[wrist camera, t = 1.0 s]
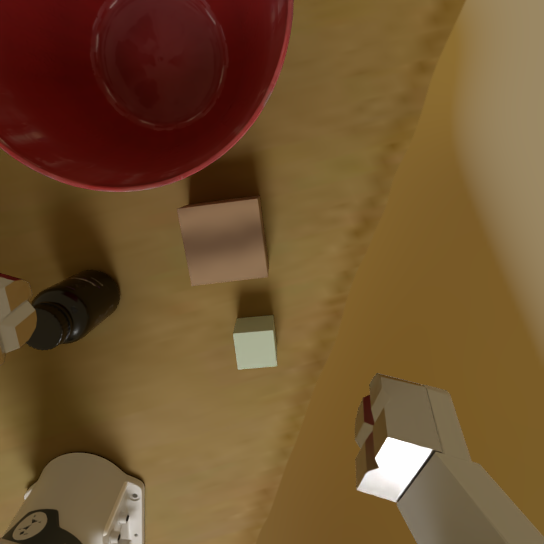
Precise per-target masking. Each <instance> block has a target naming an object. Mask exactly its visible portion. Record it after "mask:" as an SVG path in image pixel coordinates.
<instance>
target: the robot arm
mask: <svg viewBox="0 0 544 544" xmlns="http://www.w3.org/2000/svg"><path fill="white" fill-rule="evenodd" d="M31 296H32V291H31V288H30V284H29V283H28V282H26V281H24V280H22V279H19V278H15V277H12V276H8V275H5V274H1V273H0V365H1V364H3V363H4V361H5V355H6V353H8V352H10V351H13V350H16V349H18V348H20V347H21V346H23V345H24V344H25V343H26V342H27V341H28V340H29V339H30V337H31V335H32V334H33V332H34V330H35V328H36V322H37V315H36V310H35V309H34V308H33V306H32V305H31V304H30V303H29V302H28V300H29V299H30V298H31ZM369 386H370V395H368V396H366V397H364V398H363V399H362V401H361V404H360V406H359V408H358V413H357V417H356V422H355V441H356V442H357V444H358V445H359V447H360V448H361V450H360V452H359V454H358V455H357V457H356V484H357V485H356V487H357V490H359V491H362V492H365V493H368V494H371V495H375V496H378V497H381V498H384V499H388V500H391V501H394V502H397V506H398V508H399V510H400V512H401V514H402V516H403V518H404V519H405V521H406V523H407V525H408V527H409V529H410V531H411V533H412V535H413V536H414V539H415V540H416V542H417V544H544V537H543V535H542V534H541V533H540V532H539V531H538V530H537V529H536V528H535V526H534V525H533V524H532V523H531V522H530V521H529V520H528V519H527V517H526V516H525V515H524V514H523V513H522V512H521V511H520V510H519V508H518V507H517V506H516V505H515V504H514V503H513V501H512V500H511V499H510V498H509V497H508V496H507V495H506V493H505V492H504V491H503V490H502V489H501V488H500V487H499V486H498V485H497V483H496V482H495V481H494V480H493V479H492V478H491V476H490V475H489V474H488V473H487V472H486V471H485V470H484V469H483V468H482V466H481V465H480V464H478V463H475V462H472V461H471V458H470V455H469V452H468V449H467V445H466V442H465V439H464V436H463V433H462V430H461V427H460V424H459V421H458V418H457V415H456V412H455V408H454V405H453V403H452V399H451V396H450V394H449V393H448V392H447V391H446V390H443V389H439V388H435V387H431V386H427V385H421V384H418V383H414V382H410V381H406V380H402V379H398V378H394V377H390V376H386V375H382V374H378V373H377V374H376V375H375V376H374V377H373V379H372V381H371V383H370V385H369ZM24 499H25V501H24V503H23V504H22V506H21V508H20V509H19V511H18V512H17V514H16V516H15V517H14V519H13V520H12V522H11V524H10V525H9V527H8V528H7V530H6V532H5V533H4V535H3V537H2V538H0V544H144V518H145V487H144V484H143V482H142V481H140V480H139V479H136V478H134V477H132V476H129V475H127V474H125V473H124V472H123V471H121V470H120V469H119V468H118V467H117V466H116V465H114V464H113V463H111V462H110V461H108V460H106V459H104V458H102V457H99V456H97V455H93V454H88V453H69V454H65V455H62V456H59V457H57V458H55V459H53V460H52V461H51V462H49V463H48V464H47V465H46V467H45V468H44V469H43V471H42V473H41V475H40V477H39V479H38V481H37V482H36V483H35V484H33V485H32V486H31V487H30V488H29V489H28V490H27V492H26V493H25V495H24Z"/></svg>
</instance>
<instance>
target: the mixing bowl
mask: <svg viewBox="0 0 544 544" xmlns="http://www.w3.org/2000/svg"><path fill="white" fill-rule="evenodd" d="M293 1H294V0H0V148H1V149H2V150H4V151H5V152H6V153H8V154H9V155H10V156H12V157H13V158H15V159H16V160H18V161H19V162H21V163H22V164H24V165H26V166H27V167H29V168H31V169H33V170H35V171H36V172H38V173H41V174H43V175H45V176H47V177H49V178H52V179H54V180H57V181H60V182H62V183H65V184H69V185H72V186H76V187H80V188H85V189H91V190H97V191H108V192H128V191H140V190H147V189H152V188H157V187H161V186H164V185H168V184H171V183H174V182H176V181H179V180H182V179H184V178H186V177H188V176H190V175H192V174H194V173H197V172H198V171H200V170H202V169H203V168H205V167H207V166H208V165H210V164H211V163H213V162H214V161H216V160H217V159H219V158H220V157H221V156H222V155H224V154H225V153H226V152H227V151H228V150H229V149H231V148H232V147H233V146H234V145H235V144H236V143H237V142H238V141H239V140H240V139H241V138H242V137H243V136H244V135H245V133H246V132H247V131H248V130H249V128H250V127H251V126H252V125H253V123H254V122H255V121H256V119H257V118H258V116H259V115H260V113H261V112H262V110H263V108H264V106H265V105H266V103H267V101H268V99H269V97H270V96H271V94H272V91H273V89H274V87H275V84H276V82H277V80H278V77H279V75H280V72H281V69H282V66H283V63H284V59H285V56H286V52H287V48H288V43H289V38H290V33H291V26H292V19H293Z"/></svg>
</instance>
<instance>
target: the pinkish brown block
mask: <svg viewBox="0 0 544 544" xmlns="http://www.w3.org/2000/svg"><path fill="white" fill-rule="evenodd" d="M177 211H178V217H179V222H180V227H181V232H182V238H183V243H184V248H185V253H186V259H187V264H188V269H189V274H190V279H191V285H192V286H195V285H204V284H212V283H221V282H229V281H238V280H246V279H255V278H263V277H268V269H269V262H268V255H267V247H266V239H265V232H264V224H263V217H262V209H261V201H260V195H259V196H251V197H244V198H236V199H228V200H220V201H212V202H204V203H196V204H189V205H186V206H183V207H181V208H178V209H177Z"/></svg>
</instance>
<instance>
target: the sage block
mask: <svg viewBox="0 0 544 544" xmlns="http://www.w3.org/2000/svg"><path fill="white" fill-rule="evenodd" d="M233 337H234V344H235V351H236V358H237V366H238V369H250V368H262V367H274V366H277V344H276V335H275V326H274V316H273V315H268V316H257V317H246V318H237V321H236V324H235V328H234V332H233Z"/></svg>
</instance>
